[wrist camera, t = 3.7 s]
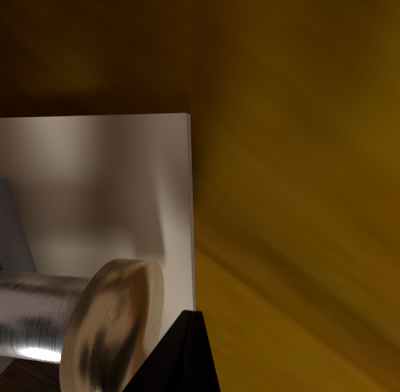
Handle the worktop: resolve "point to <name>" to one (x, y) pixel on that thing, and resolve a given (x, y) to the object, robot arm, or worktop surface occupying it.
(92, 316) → the shaft
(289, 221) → the worktop surface
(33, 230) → the bearing block
